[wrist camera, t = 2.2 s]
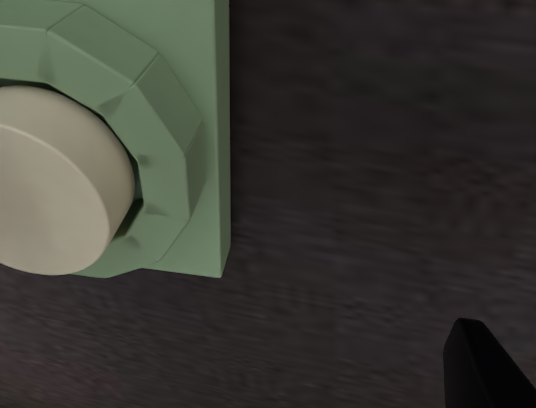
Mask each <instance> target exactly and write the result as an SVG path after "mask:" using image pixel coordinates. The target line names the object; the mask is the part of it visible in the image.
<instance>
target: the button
mask: <svg viewBox="0 0 536 408" xmlns="http://www.w3.org/2000/svg"><path fill="white" fill-rule="evenodd" d="M134 192H135V180H134V173H133V168H132V165H131V162H130V160H129V157H128V155H127V153H126V151H125V149H124V147H123V146H122V144H121V143H120V141H119V140H118V138H117V137H116V136H115V134H114V133H113V132H112V131H111V130H110V129H109V127H108V126H107V125H106V124H105V123H104V122H103V121H101V120H100V119H99V118H98V117H97V116H96V115H94V114H93V113H92V112H91V111H89V110H88V109H87V108H85V107H83V106H82V105H80V104H79V103H77V102H75V101H74V100H72V99H70V98H68V97H66V96H64V95H61V94H59V93H56V92H54V91H50V90H47V89H43V88H39V87H33V86H23V85H13V86H4V87H0V263H2V264H4V265H6V266H9V267H12V268H15V269H18V270H22V271H25V272H30V273H35V274H43V275H63V274H70V273H74V272H78V271H80V270H83V269H85V268H87V267H89V266H90V265H92V264H93V263H95V262H96V261H97V260H98V259H99V258H100V257H101V256H102V254H103V253H104V252H105V250H106V248H107V247H108V245H109V243H110V241H111V240H112V238H113V236H114V234H115V233H116V231H117V229H118V228H119V226H120V224H121V222H122V221H123V219H124V217H125V215H126V214H127V212H128V210H129V208H130V206H131V204H132V201H133V198H134Z"/></svg>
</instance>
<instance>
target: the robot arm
mask: <svg viewBox="0 0 536 408" xmlns="http://www.w3.org/2000/svg"><path fill="white" fill-rule="evenodd" d="M443 362H444V384H445V405H446V408H536V389H535V388H534V386H533V385H532V384H531V382H530V381H529V380H528V379H527V377H526V376H525V375H524V374H523V372H522V371H521V370H520V368H519V367H518V366H517V365H516V363H515V362H514V361H513V360H512V358H511V357H510V356H509V355H508V353H507V352H506V351H505V349H504V348H503V347H502V346H501V344H500V343H499V342H498V341H497V339H496V338H495V337H494V335H493V334H492V333H491V332H490V330H489V329H488V328H487V327H486V325H485V324H484V323H483V322H481V321H479V320H474V319H467V318H458V319H457V320H456V321H455V323H454V325H453V327H452V330H451V332H450V334H449V336H448V338H447V341H446V343H445V346H444V352H443Z"/></svg>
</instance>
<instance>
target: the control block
mask: <svg viewBox="0 0 536 408" xmlns="http://www.w3.org/2000/svg"><path fill="white" fill-rule="evenodd" d="M13 85H23V86H33V87H39V88H43V89H47V90H50V91H54V92H56V93H59V94H61V95H64V96H66V97H68V98H70V99H72V100H74V101H75V102H77V103H79V104H80V105H82V106H83V107H85V108H87V109H88V110H89V111H91V112H92V113H93V114H94V115H96V116H97V117H98V118H99V119H100V120H101V121H103V122H104V123H105V124H106V125H107V126H108V127H109V129H110V130H111V131H112V132H113V133H114V134H115V136H116V137H117V138H118V140H119V141H120V143H121V144H122V146H123V147H124V149H125V151H126V153H127V155H128V157H129V160H130V162H131V165H132V168H133V173H134V180H135V192H134V198H133V201H132V204H131V206H130V208H129V210H128V212H127V214H126V215H125V217H124V219H123V221H122V222H121V224H120V226H119V228H118V229H117V231H116V233H115V234H114V236H113V238H112V240H111V241H110V243H109V245H108V247H107V248H106V250H105V252H104V253H103V254H102V256H101V257H100V258H99V259H98V260H97V261H96V262H95V263H93V264H92V265H90V266H89V267H87V268H85V269H83V270H80V271H78V272H74V273H70V274H76V275H83V276H91V277H98V278H106V277H107V278H109V277H113V276H116V275H119V274H122V273H126V272H129V271H132V270H135V269H139V268H148V269H155V270H163V271H170V272H178V273H185V274H193V275H200V276H208V277H215V278H220V277H221V276H222V273H223V270H224V266H225V263H226V259H227V256H228V252H229V249H230V245H231V218H230V78H229V0H0V87H4V86H13Z"/></svg>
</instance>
